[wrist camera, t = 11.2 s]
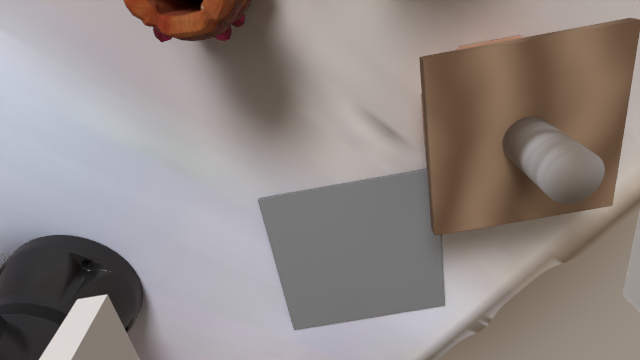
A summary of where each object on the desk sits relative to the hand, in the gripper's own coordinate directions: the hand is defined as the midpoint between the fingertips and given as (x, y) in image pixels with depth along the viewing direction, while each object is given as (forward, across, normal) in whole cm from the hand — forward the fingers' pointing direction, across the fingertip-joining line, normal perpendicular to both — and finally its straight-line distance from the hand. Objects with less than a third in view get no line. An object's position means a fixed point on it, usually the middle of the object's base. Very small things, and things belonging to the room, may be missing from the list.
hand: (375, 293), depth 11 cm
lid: (+25, +16, -8) cm, 31 cm away
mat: (+32, +1, -23) cm, 40 cm away
